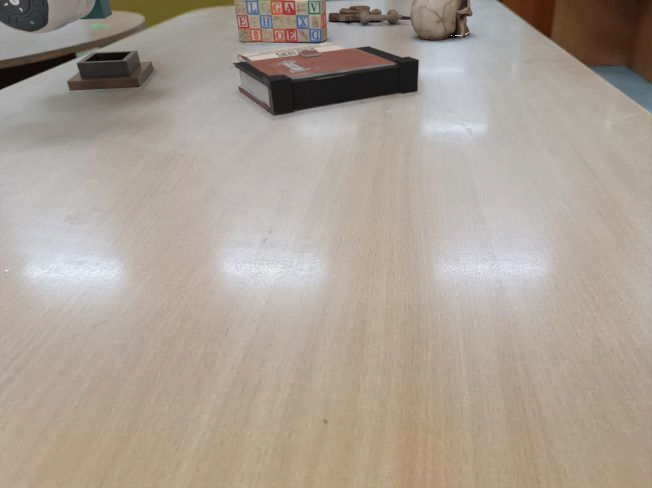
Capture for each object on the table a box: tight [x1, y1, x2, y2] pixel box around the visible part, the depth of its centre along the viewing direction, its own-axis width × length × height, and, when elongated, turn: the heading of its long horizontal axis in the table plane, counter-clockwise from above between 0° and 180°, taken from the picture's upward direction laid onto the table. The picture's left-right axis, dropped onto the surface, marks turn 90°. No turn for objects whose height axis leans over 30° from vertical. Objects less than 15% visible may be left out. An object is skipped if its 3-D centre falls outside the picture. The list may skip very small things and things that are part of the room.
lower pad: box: [66, 50, 154, 91], centre depth 96 cm, size 12×14×4 cm
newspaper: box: [232, 41, 346, 65], centre depth 108 cm, size 23×12×2 cm, turn 126°
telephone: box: [328, 5, 411, 25], centre depth 149 cm, size 15×33×4 cm, turn 87°
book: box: [234, 45, 420, 116], centre depth 87 cm, size 26×18×5 cm
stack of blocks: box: [233, 0, 328, 43], centre depth 125 cm, size 21×6×12 cm, turn 80°
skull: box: [409, 0, 474, 41], centre depth 127 cm, size 16×17×13 cm
